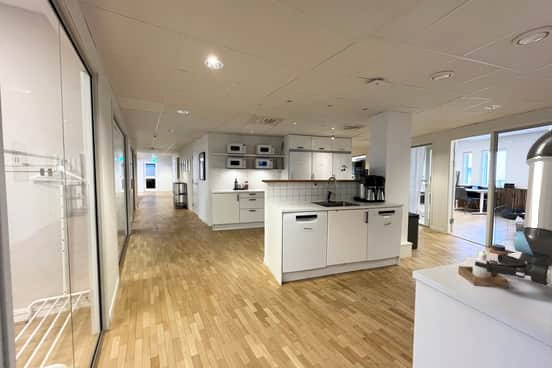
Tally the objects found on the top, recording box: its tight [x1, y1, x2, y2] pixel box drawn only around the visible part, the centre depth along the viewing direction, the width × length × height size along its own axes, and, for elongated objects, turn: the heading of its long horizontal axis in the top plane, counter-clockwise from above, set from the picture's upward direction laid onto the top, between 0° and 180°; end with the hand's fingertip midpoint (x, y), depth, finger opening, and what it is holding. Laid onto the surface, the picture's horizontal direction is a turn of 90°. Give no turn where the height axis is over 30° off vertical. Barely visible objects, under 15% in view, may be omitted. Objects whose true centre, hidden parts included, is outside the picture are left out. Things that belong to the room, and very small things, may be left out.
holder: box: [457, 265, 509, 289], centre depth 95 cm, size 11×11×4 cm
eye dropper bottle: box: [472, 249, 491, 277], centre depth 95 cm, size 4×6×12 cm
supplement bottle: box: [488, 243, 509, 268], centre depth 105 cm, size 6×6×11 cm
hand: (471, 256), depth 98 cm, fingers open, 13 cm apart
